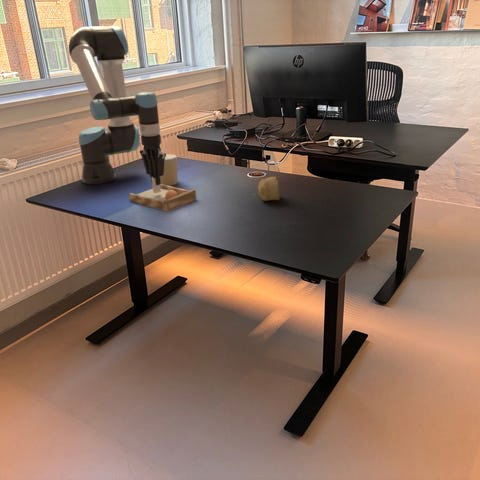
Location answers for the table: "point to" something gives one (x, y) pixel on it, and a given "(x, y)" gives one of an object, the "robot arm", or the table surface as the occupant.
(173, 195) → the ball
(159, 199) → the mat
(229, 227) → the table surface
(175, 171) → the coffee cup
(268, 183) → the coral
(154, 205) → the lane frame
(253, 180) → the table surface
